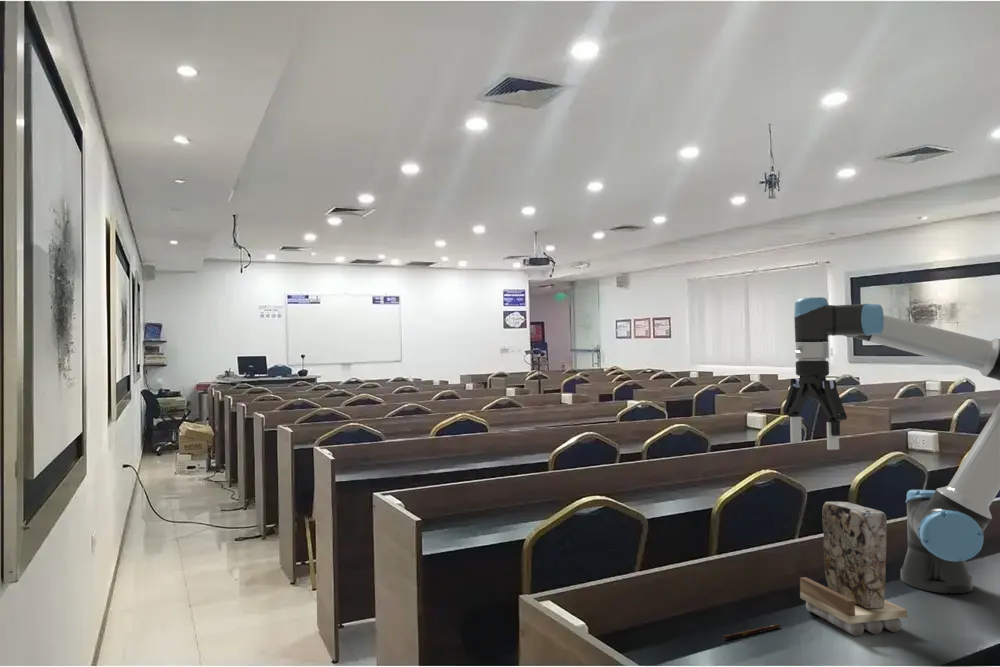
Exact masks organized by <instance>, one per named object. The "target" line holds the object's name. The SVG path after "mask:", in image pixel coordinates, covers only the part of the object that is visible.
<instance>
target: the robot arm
mask: <svg viewBox="0 0 1000 667" xmlns="http://www.w3.org/2000/svg"><path fill="white" fill-rule="evenodd" d="M793 318H794V339H795V340H794V341H795V358H796V362H795V375H796V376H798V377H799V378H790V385H789V391H788V392H787V393H788V394H787V395H786V396H787V397H786V400H785V404H784V407H783V409H782V412H783V413H784V414H787V416H788V418H789V423H788V424H789V430H790V434H789V435H790V443H802V442H803V441H802V440H803V439H802V438H803V437H802V436H803V435H802V415H801V411H802V410H803V408H804V406H806V403H807V402H808V399H810V398H812V399H814V400H816V401H817V402H818V403H819V405H820V407H821V409H822V411H823V412H824V414H825V415H826V417H827V421H826V446H827V447H826V449H827V450H828V451H833V450H836V451H837V450H840V435H841V422H842V421H846V420H848V419H847V418H848V416H847V414H846V411H845V408H844V405H843V403H842V399H841V398H840V393H839V391H838V388H837V381H836V379H829V380H828V379H826V377H827V376H829V374H830V364H829V361H828V360H827V359H829V358H830V348H829V336H833V337H834V336H844V337H847V338H855V339H857V340H858V339H859V340H862V341H865V342H870V343H874V344H877V345H881V346H885V347H889V348H894V349H897V350H901V351H904V352H908V353H912V354H915V355H919V356H923V357H926V358H931V359H935V360H939V361H942V362H946V363H950V364H954V365H957V366H961V367H964V368H968V369H972V370H977V371H979V372H980V374H981V375H982V376H983V377H986V378H990V379H994V380H997V381H999V382H1000V338H998V337H997V338H996V337H995V338H994V339H991V340H987V339H984V338H979V337H975V336H971V335H967V334H962V333H959V332H954V331H951V330H947V329H943V328H939V327H933V326H930V325H926V324H922V323H918V322H914V321H910V320H904V319H902V318H897V317H893V316H889V315H885V313H884V309H883V307H882V305H880V304H877V303H861V304H840V305H839V304H838V305H832V304H829V302H828V299H827V298H826V297H823V296H822V297H818V296H817V297H814V296H813V297H802V298H798V299H797V300H796V301H795V302H794V317H793ZM797 359H798V360H797ZM999 492H1000V402H998V404H997V406H996V407H995V409H994V410H993V413H992V414H991V416H990V417H989V418H988V421H987V422H986V424H985V425H984V427H983V428H982V430H981V431H980V433H979V435H978V437H977V438H976V439H975V442H974V443H973V445H972V446H971V447H970V450H969V451H968V453H967V454H966V456H965V458H964V459H963V461H962V463H961V464H960V465H959V467H958V469H957V471H955V474H954V475H953V477H952V478H951V480H950V482H949V483H948V485H946V486H942V487H938V488H936V489H935V490H933V489H931V490H930V489H909V490H908V491H907V493H906V500H905V504H906V520H907V521H906V525H907V530H906V531H907V550H906V554H905V557H904V560H903V564H902V566H901V568H900V580H901V582H903V583H904V584H906V585H908V586H910V587H913V588H916V589H920V590H924V591H927V592H931V593H932V592H933V593H939V594H940V593H941V594H947V593H951V594H952V595H955V594H956V593H963V594H965V593H964V592H968V593H970V592H969V591H971V590H972V589H973V590H974V581H973V577H972V576H971V574H970V572H969V568H968V564H967V562H966V561H969V560H971V559H972V558H974V557H975V556H977V555H978V554H979V552H980V551H981V550H982V547H983V546H984V545H983V544H984V532H985V530H986V528H987V527H988V525H989V524H990V522H991V520H992V519H993V516H992V514H991V511H990V506H991V504H992V503H993V501H994V500H995V498H996V497H997V495H998V493H999ZM973 590H972V591H973ZM972 591H971V592H972ZM953 593H955V594H953ZM951 594H950V595H951ZM956 595H957V594H956Z"/></svg>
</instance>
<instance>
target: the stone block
mask: <svg viewBox="0 0 1000 667" xmlns="http://www.w3.org/2000/svg"><path fill="white" fill-rule="evenodd" d="M821 513H822V515H821V517H822V520H821V521H822V530H823V546H822V547H823V548H822V549H823V556H824V561H823V562H824V573H825V581H826V583H827V588H829V589H831V590H833V591H835V592H838V593H840V594H842V595H844V596H846V597H848V598H850V599H852V600H854V601H855V604H858V605H860V606H862V607H865V608H871V609H873V608H883V607H884V600H885V597H886V596H885V591H886V564H887V527H888V526H887V525H888V524H887V516H886V513H885V512H883V511H881V510H878V509H875V508H874V509H873V508H871V507H866V506H862V505H860V504H857V503H852V502H848V501H825V502H824V504H823V506H822V512H821Z"/></svg>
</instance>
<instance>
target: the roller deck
mask: <svg viewBox="0 0 1000 667" xmlns="http://www.w3.org/2000/svg"><path fill="white" fill-rule="evenodd" d="M799 594H800V595H799V598H800V599H801V600H803V601H805V608H806V609H807V611H809V612H810V613H812V614H814V615H816V616H818V617H820V618H821V619H823V620H825V621H826V622H828V623H830V624H832V625H834V626H835V627H837V628H839V629H842V631H845V632H847V633H848V634H850V635H852V636H854V637H856V638H859V637H861V636H863V634H864V632H865V631H867V632H869V633H871V634H873V635H880V634H881V633H882V631H883V630H884V629H886V630H888V631H890V632H892V633H898V632H899V631H900V630H901V628H902V621H901V619H905V618H908V609H906V608H903V607H901V606H899V605H897V604H894V603H892V602H890V601H888V600H886V599H884V607H883V608H873V609H871V608H865V607H862V606H860V605H858V604H855V601H854V600H852V599H850V598H848V597H846V596H844V595H842V594H840V593H838V592H835V591H833V590H831V589H829V588H828V586H825V585H823V584H821V583H819V582H817V581H815V580H813V579H811V578H808V577H806V576H804V577H799Z"/></svg>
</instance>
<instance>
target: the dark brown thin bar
mask: <svg viewBox="0 0 1000 667" xmlns="http://www.w3.org/2000/svg"><path fill="white" fill-rule="evenodd" d="M779 627H780V628H781V624H780V623H777V624H773V625H768V626H767V625H766V626H762V627H757V628H754V629H748V630H744V631H740V632H736V633H731V634H725V635H723V637H722V638H723V639H728V640H731V639H730V638H733V639H737V638H741V636H742V637H745V635H746V636H749V635H748V634H751V635H755V634H759V633H758V632H760V631H764V630H769V629H773V630H776V629H775V628H778V629H780V628H779ZM769 631H770V630H769ZM764 632H765V631H764ZM754 633H755V634H754ZM760 633H761V632H760ZM736 637H737V638H736Z"/></svg>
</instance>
